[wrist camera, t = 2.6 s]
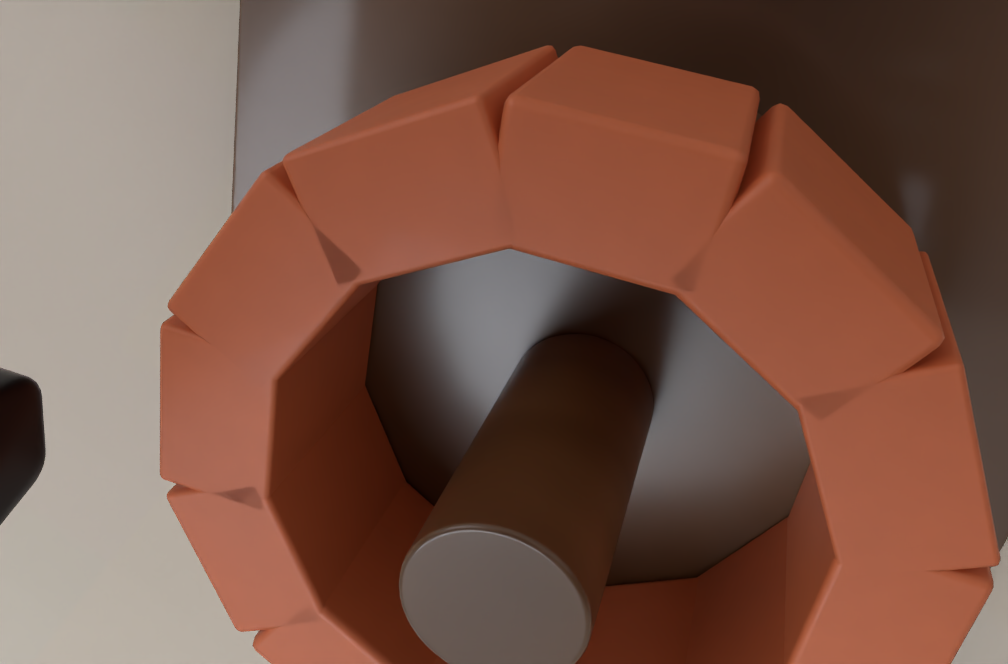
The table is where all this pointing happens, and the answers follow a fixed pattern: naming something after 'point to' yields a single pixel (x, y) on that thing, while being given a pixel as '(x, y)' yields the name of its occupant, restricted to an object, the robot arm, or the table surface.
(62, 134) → the table surface
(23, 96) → the table surface
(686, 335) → the stand
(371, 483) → the terracotta ring
